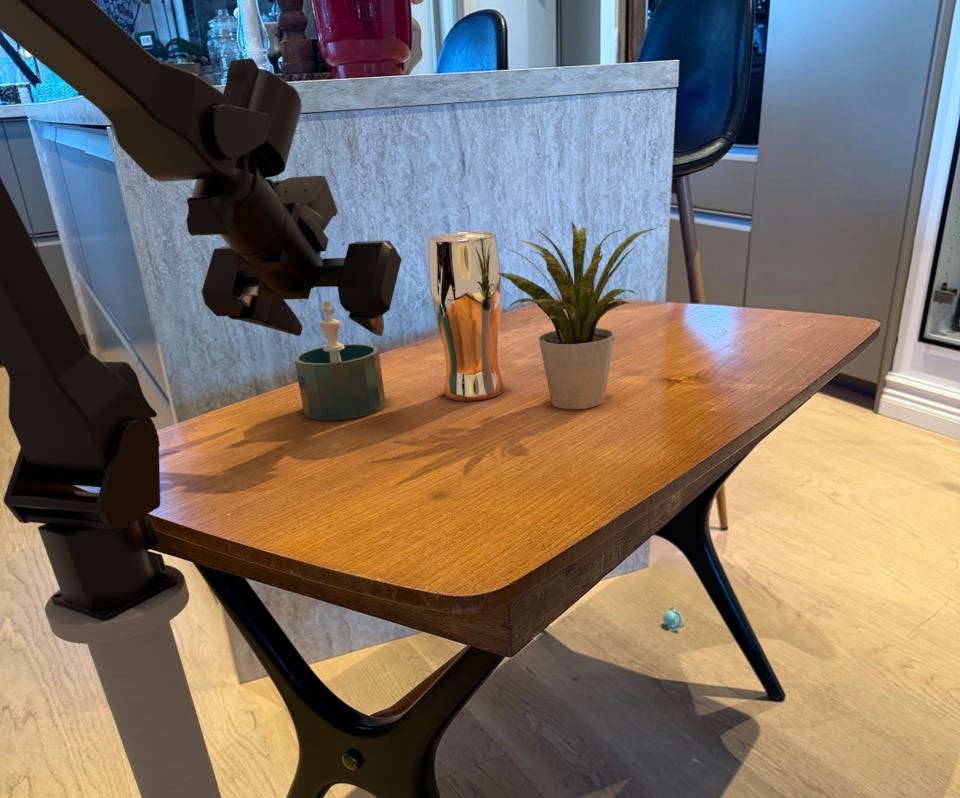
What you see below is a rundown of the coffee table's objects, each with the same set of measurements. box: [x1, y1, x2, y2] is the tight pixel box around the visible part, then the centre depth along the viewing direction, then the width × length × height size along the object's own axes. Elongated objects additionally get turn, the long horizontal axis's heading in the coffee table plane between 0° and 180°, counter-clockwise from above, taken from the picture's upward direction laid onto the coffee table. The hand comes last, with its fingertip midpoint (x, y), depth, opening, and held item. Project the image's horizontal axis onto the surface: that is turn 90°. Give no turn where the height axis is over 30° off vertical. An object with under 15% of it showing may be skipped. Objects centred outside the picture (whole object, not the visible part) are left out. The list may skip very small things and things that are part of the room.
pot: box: [293, 343, 386, 422], centre depth 90 cm, size 8×8×6 cm
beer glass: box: [427, 230, 504, 402], centre depth 89 cm, size 7×7×15 cm
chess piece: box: [319, 300, 345, 363], centre depth 88 cm, size 5×5×10 cm
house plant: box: [498, 221, 658, 410], centre depth 84 cm, size 14×14×16 cm
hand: (340, 331), depth 89 cm, fingers open, 9 cm apart
